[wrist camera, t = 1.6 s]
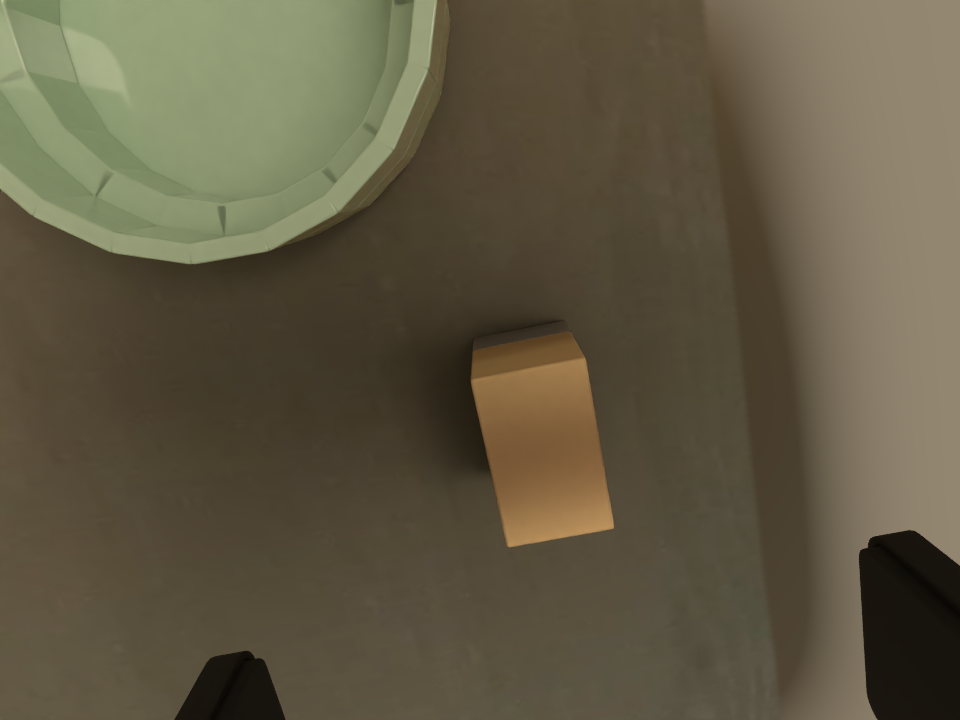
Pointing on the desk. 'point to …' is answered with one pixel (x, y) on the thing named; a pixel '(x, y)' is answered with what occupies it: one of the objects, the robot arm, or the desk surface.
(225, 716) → the robot arm
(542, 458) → the eraser
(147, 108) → the bowl
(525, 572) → the desk surface
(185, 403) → the desk surface
